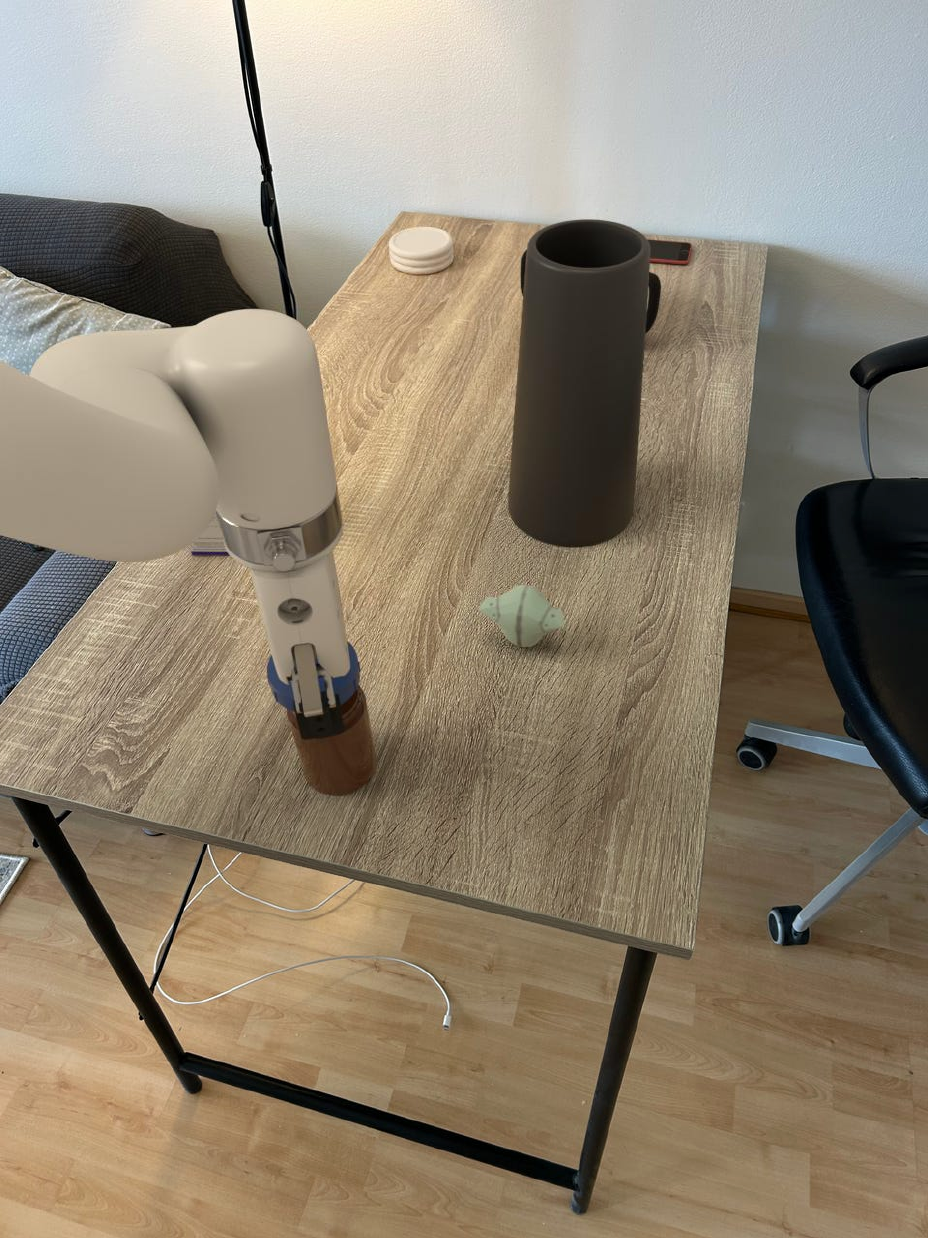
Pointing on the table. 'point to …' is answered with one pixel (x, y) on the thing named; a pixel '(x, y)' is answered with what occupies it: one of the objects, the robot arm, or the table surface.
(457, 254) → the table surface
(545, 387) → the vase
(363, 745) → the jar
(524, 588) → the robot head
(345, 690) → the lid
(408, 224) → the table surface
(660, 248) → the smartphone
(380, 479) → the table surface
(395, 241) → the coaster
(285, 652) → the robot arm
